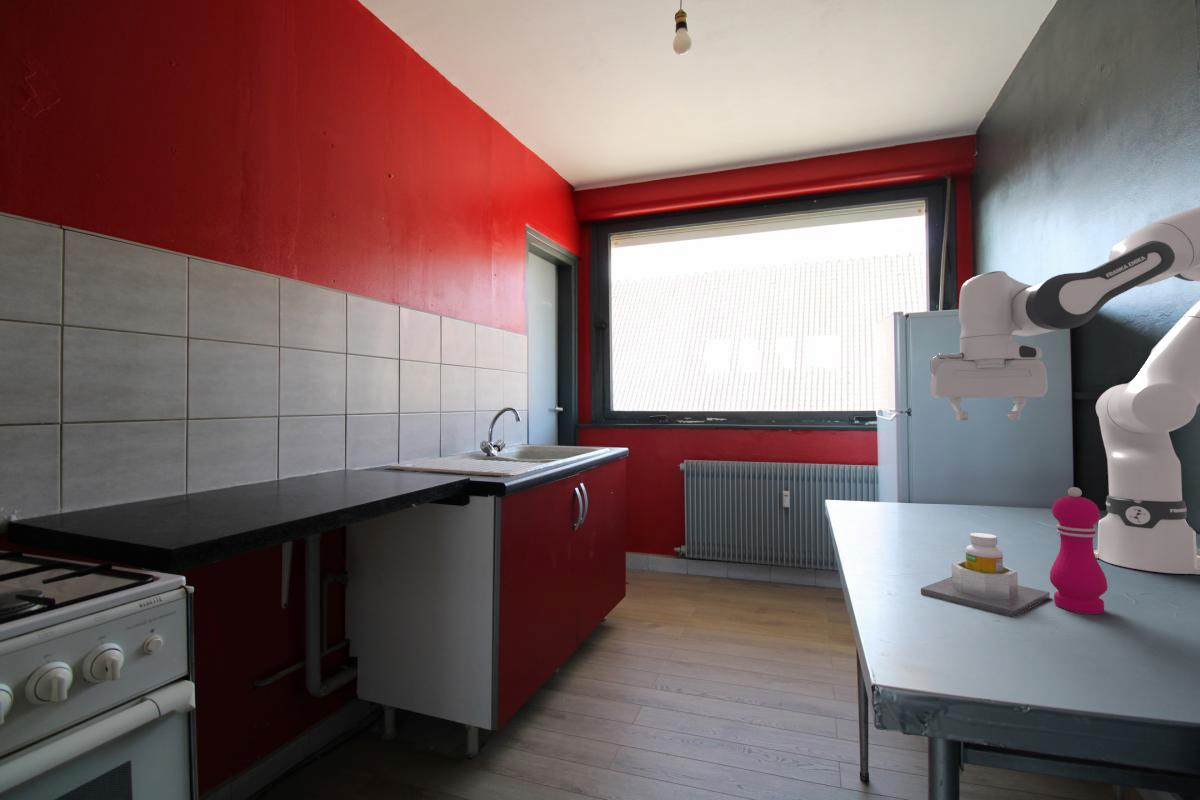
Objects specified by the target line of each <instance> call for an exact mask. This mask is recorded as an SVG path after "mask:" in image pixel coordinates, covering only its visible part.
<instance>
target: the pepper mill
mask: <svg viewBox="0 0 1200 800" xmlns="http://www.w3.org/2000/svg"><path fill="white" fill-rule="evenodd" d="M1082 492H1083V491H1082V490H1081V489H1080V488H1079V487H1075V486H1071V487H1070V488H1068V489H1067V496H1063V497H1059V498H1058V499H1056V500H1055V501H1054V502H1053V504H1052V506H1051V507H1052V508H1051V512H1052V516H1053V517H1054V519H1055V520H1057V522H1058V523H1057V524H1056V527H1057V530H1056V533H1058V534H1059V539H1060V546H1059V547H1060V548H1059V550H1058V551H1059V552H1058V554H1057V556H1056V558H1055V560H1054V562H1053V564H1052V566H1051V568H1050V571H1049V581H1050V583H1051V585H1052V586H1053V587H1054V588H1055V589H1056V590H1057V591H1056V592H1054V594H1053V601H1054V605H1055V604H1056V605H1055V606H1057V607H1058V606H1059V607H1058V608H1060V607H1061V609H1063V608H1064V610H1066V609H1067V610H1066V611H1069V610H1070V612H1074V611H1075V612H1074V613H1079V612H1080V613H1079V614H1086V613H1088V615H1099V614H1100V615H1101V614H1103V613H1104V612H1105V600H1103V599H1102V598H1101V597H1102V595H1104V594H1105V593H1106V592H1107V591H1108V581H1107V577H1106V575H1105V573H1104V571H1103V569H1102V568H1101V565H1100V564H1099V562H1098V560H1097V558H1096V557H1095V554H1094V550H1095V549H1094V538H1095V537H1097V533H1096V531H1097V528H1096V527H1094V525H1095V524H1096V523H1097V522H1099V520H1100V517H1101V515H1100V513H1101V512H1100V509H1099V507H1098V505H1097V504H1096V503H1095V502H1093V501H1092V500H1090V499H1089V498H1085V497H1082V494H1083V493H1082Z"/></svg>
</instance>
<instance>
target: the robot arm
mask: <svg viewBox="0 0 1200 800" xmlns="http://www.w3.org/2000/svg"><path fill="white" fill-rule="evenodd" d="M1172 277H1174V278H1177V279H1180V280H1181V281H1182V280H1183V281H1186V282H1200V206H1196V207H1192V208H1189V209H1186V210H1182V211H1179V212H1176V213H1174V214H1171V215H1168V216H1165V217H1163V218H1160V219H1158V220H1156V221H1154V222H1152V223H1150V224H1148V225H1145V226H1143V227H1141V228H1139V229H1137V230H1135V231H1134V232H1132V233H1130V234H1129V235H1127V236H1125V237H1123V238H1122V239H1121V240H1120V241H1118V242H1117V243H1116V244H1114V245H1113V246H1112V248H1110V252H1109V255H1108V261H1106V262H1103V263H1102V264H1100V265H1098V266H1096V267H1094V268H1092V269H1090V270H1087V271H1084V272H1083V271H1082V272H1072V273H1071V272H1070V273H1061V274H1057V275H1054V276H1052V277H1051V278H1048V279H1046V280H1044V281H1042V282H1040V283H1037V284H1035V285H1031V284H1027V283H1024V282H1021V281H1019V280H1016V278H1015V279H1014V278H1013V277H1011V276H1009V275H1008V273H1007V272H1006V271H1002V270H1001V271H999V270H997V271H995V270H994V271H990V272H986V273H982V274H979V275H976V276H975V275H974V276H973V277H971V278H970V279H968V280H966V281H965V282H963V284H962V285H961V288H960V292H959V302H958V321H959V323H960V327H961V331H960V335H959V352H955V353H938V354H937V355H935V356H934V357H932V358H931V359H930V362H929V366H930V367H929V368H930V372H931V376H930V377H931V378H930V383H929V384H930V386H929V393H930V395H931V396H932V397H933V399H949V405H950V407H952V409H953V410H954V412H955V419H956V421H968V420H969V417H968V415H969V412H968V411H964V409H963V408H962V407H961V405H960V404H962V401H963V399H965V398H967V399H969V398H970V399H971V398H972V399H974V398H977V399H978V398H981V399H982V398H985V399H986V398H988V399H989V398H1012V403H1013V404H1014V406H1013V408H1012V410H1009V411H1008V410H1007V412H1006V414H1007V420H1008V421H1020V420H1021V412H1022V410H1023V408H1024V407H1025V406H1026V404H1027V398H1040V397H1044V396H1045V395H1046V393H1047V392H1049V391H1048V390H1049V389H1048V388H1049V384H1048V376H1047V375H1048V373H1047V369H1046V366H1045V364H1044V363H1043V361H1041V360H1039V359H1041V358H1042V357H1043V350H1042V348H1040V347H1037V346H1033V345H1028V344H1025V343H1021V342H1018V341H1014V340H1013V336H1020V337H1032V336H1037V335H1041V334H1047V333H1050V332H1055V331H1060V330H1062V331H1063V330H1067V329H1068V330H1070V329H1074V328H1075V329H1076V328H1078V327H1081V326H1083V325H1084V324H1085V325H1086V323H1088V322H1089V321H1091V320H1092V318H1094V316H1096V315H1097V313H1099V312H1100V311H1101V309H1102V308H1103V307H1104V305H1106V304H1107V303H1108V302H1109V301H1111V300H1112V299H1113V298H1115V297H1118V296H1119V295H1122V294H1124V293H1126V292H1127V291H1130V290H1132V289H1133V288H1135V287H1137V288H1139V287H1144V286H1149V285H1152V284H1155V283H1160V282H1161V281H1165V280H1166V279H1167V280H1168V279H1169V278H1172ZM1199 404H1200V299H1199V300H1198V301H1197V302H1196V303H1195V304H1193V305H1192V306H1191V307H1190V309H1188V310H1186V312H1185V313H1184V314H1183V316H1182V317H1180V318H1179V320H1178V321H1177V322H1176V323H1175V324H1174V325H1173V326H1172V327H1171V329H1169V331H1168V332H1167V333H1166V334H1165V335H1164V336H1163V337H1162V338H1161V339H1160V340H1159V341H1158V342H1157V344H1156V345H1154V347H1153V348H1152V349H1151V351H1150V354H1149V356H1148V358H1147V360H1146V361H1145V363H1144V364H1143V365H1142V367H1141V368H1140V370H1139V372H1138V373H1137V375H1136V376H1135V377H1134V378H1133V379H1132V380H1131V381H1129V382H1128V383H1122V384H1118V385H1115V386H1112V387H1110V388H1109V389H1106V390H1105V391H1104V392H1103V393H1102V394H1101V395H1100V396H1099V397H1098V399H1097V401H1096V404H1095V411H1096V415H1097V417H1098V421H1099V427H1100V433H1101V438H1102V441H1103V446H1104V449H1105V455H1106V459H1107V460H1106V461H1107V475H1108V477H1107V478H1108V495H1106V501H1105V505H1106V512H1107V515H1105V516H1104V517H1102V518H1101V519H1099V520H1098V521H1097V522H1098V524H1097V525H1098V526H1097V527H1098V528H1097V549H1093V550H1094V554H1095V557H1096V559H1098V558H1099V560H1102V561H1104V562H1106V563H1109V564H1111V565H1112V564H1113V565H1116V566H1120V567H1125V568H1128V569H1133V570H1135V569H1136V570H1141V571H1147V572H1156V573H1163V574H1164V573H1165V574H1175V575H1177V574H1178V575H1179V574H1180V575H1182V574H1184V575H1189V574H1191V575H1200V548H1198V547H1197V533H1196V531H1195V530H1194V529H1193V528H1192V527H1191V526H1190V525H1189V524H1188V523H1187V521H1186V519H1187V517H1188V515H1187V511H1188V510H1187V506H1186V501H1185V500H1183V489H1182V487H1183V484H1182V482H1183V481H1182V464H1181V461H1180V459H1179V457H1178V456H1177V454H1176V452H1175V449H1174V446H1173V443H1172V439H1171V437H1170V432H1173V431H1175V430H1178V429H1181V427H1182V428H1183V427H1184V426H1186V425H1188V423H1190V422H1191V421H1192V419H1193V418H1194V417H1195V414H1196V413H1197V407H1198V406H1199Z"/></svg>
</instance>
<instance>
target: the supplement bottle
mask: <svg viewBox="0 0 1200 800" xmlns="http://www.w3.org/2000/svg"><path fill="white" fill-rule="evenodd" d="M969 542H970V543H971V544H970V545H967V546H966V548H965V561H966V569H968V570H973V571H978V572H983V573H1002V574H1003V565H1004V560H1003V552H1002V550H1001V549H1000V548H998V547H996V546H997V545H998V536H997V535H994V534H992V533H991V534H989V533H983V532H971V533H969Z"/></svg>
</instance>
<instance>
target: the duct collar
mask: <svg viewBox="0 0 1200 800" xmlns="http://www.w3.org/2000/svg"><path fill="white" fill-rule="evenodd" d="M1018 582H1019V580H1018V570H1015V569H1014V568H1011V567H1008V566H1007V565H1004V564H1003V574H1002V573H983V572H978V571H973V570H968V569H966V560H958V561H956V562H953V563H951V577H950V576H949V577H948V578H944V579H942V580H939V581H936V582H933V583H932V584H931V583H930V584H929V585H925V586H923V587H921V588H920V595H925V596H926V597H927V596H928V597H932V598H935V599H941V600H943V601H946V602H947V601H949V602H951V603H955V604H960V605H965V606H968V607H971V608H974V609H975V608H976V609H979V610H984V611H988V612H992V613H995V614H999V615H1004V616H1007V617H1011V618H1015V617H1017V616H1018V614H1019V615H1020V614H1022V613H1024V612H1025V610H1026V611H1027V609H1028V608H1030V607H1032V606H1033V607H1035V606H1037V605H1039V604H1040V603H1039V602H1041V601H1043V600H1045V599H1046V600H1048V599H1050V598H1051V597H1050V596H1051V595H1050V593H1051V592H1050V591H1047V590H1042V589H1039V588H1038V589H1037V588H1031V587H1027V586H1022V585H1019V583H1018ZM1049 597H1050V598H1049ZM1047 598H1048V599H1047ZM1046 600H1045V601H1046ZM1043 602H1044V601H1043ZM1038 603H1039V604H1038ZM1041 603H1042V602H1041ZM1036 604H1037V605H1036ZM1034 605H1035V606H1034ZM1033 607H1032V608H1033ZM1030 609H1031V608H1030ZM1028 610H1029V609H1028ZM1023 611H1024V612H1023ZM1021 612H1022V613H1021ZM1016 615H1017V616H1016ZM1014 616H1015V617H1014Z"/></svg>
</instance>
